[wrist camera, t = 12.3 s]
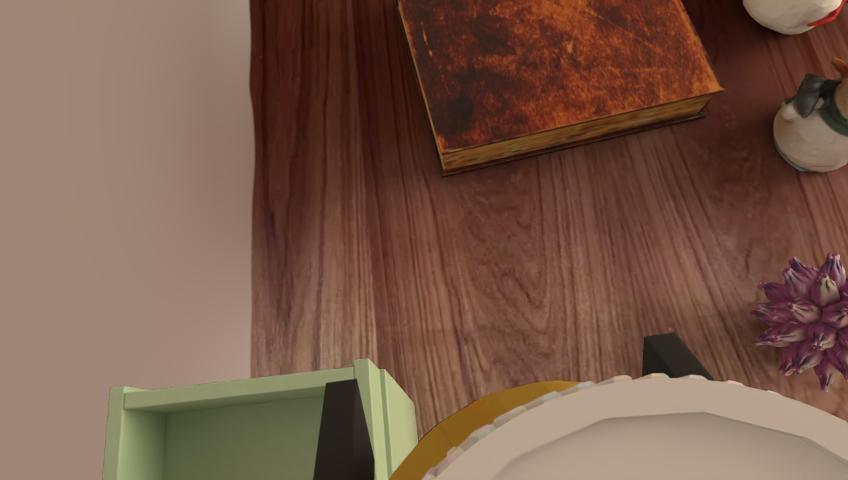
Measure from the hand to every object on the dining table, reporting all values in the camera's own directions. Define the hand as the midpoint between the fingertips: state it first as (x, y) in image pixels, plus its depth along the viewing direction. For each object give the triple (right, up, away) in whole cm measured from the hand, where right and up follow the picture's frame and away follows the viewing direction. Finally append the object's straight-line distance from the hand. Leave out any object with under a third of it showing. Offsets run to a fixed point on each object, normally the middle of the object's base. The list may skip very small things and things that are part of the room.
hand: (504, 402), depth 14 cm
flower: (+33, -5, +40) cm, 52 cm away
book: (+12, +25, +51) cm, 58 cm away
